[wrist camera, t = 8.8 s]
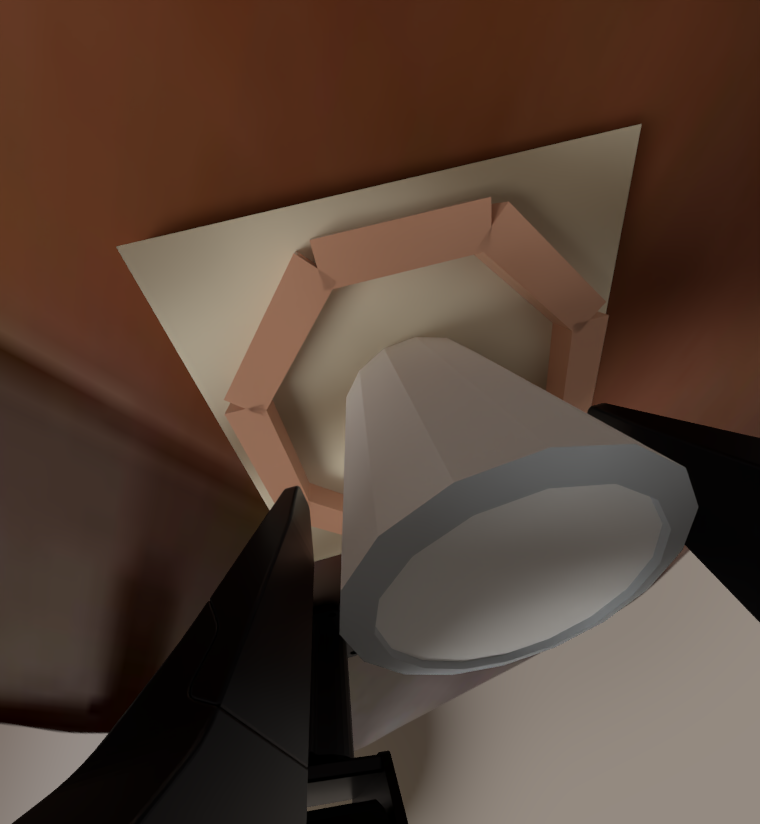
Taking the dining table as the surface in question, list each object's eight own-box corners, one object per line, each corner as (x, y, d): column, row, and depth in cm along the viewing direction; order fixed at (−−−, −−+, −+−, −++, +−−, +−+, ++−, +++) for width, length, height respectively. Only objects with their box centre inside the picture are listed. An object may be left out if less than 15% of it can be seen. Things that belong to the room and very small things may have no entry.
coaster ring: (559, 482, 15) (573, 497, 14) (312, 551, 15) (311, 570, 14) (607, 167, 9) (639, 160, 8) (165, 273, 8) (148, 278, 7)
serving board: (557, 473, 17) (572, 489, 16) (302, 543, 16) (301, 565, 15) (606, 135, 9) (641, 123, 8) (139, 244, 9) (115, 246, 8)
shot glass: (471, 273, 10) (724, 350, 4) (525, 427, 13) (697, 593, 7) (286, 387, 10) (243, 600, 4) (384, 502, 14) (433, 707, 8)
